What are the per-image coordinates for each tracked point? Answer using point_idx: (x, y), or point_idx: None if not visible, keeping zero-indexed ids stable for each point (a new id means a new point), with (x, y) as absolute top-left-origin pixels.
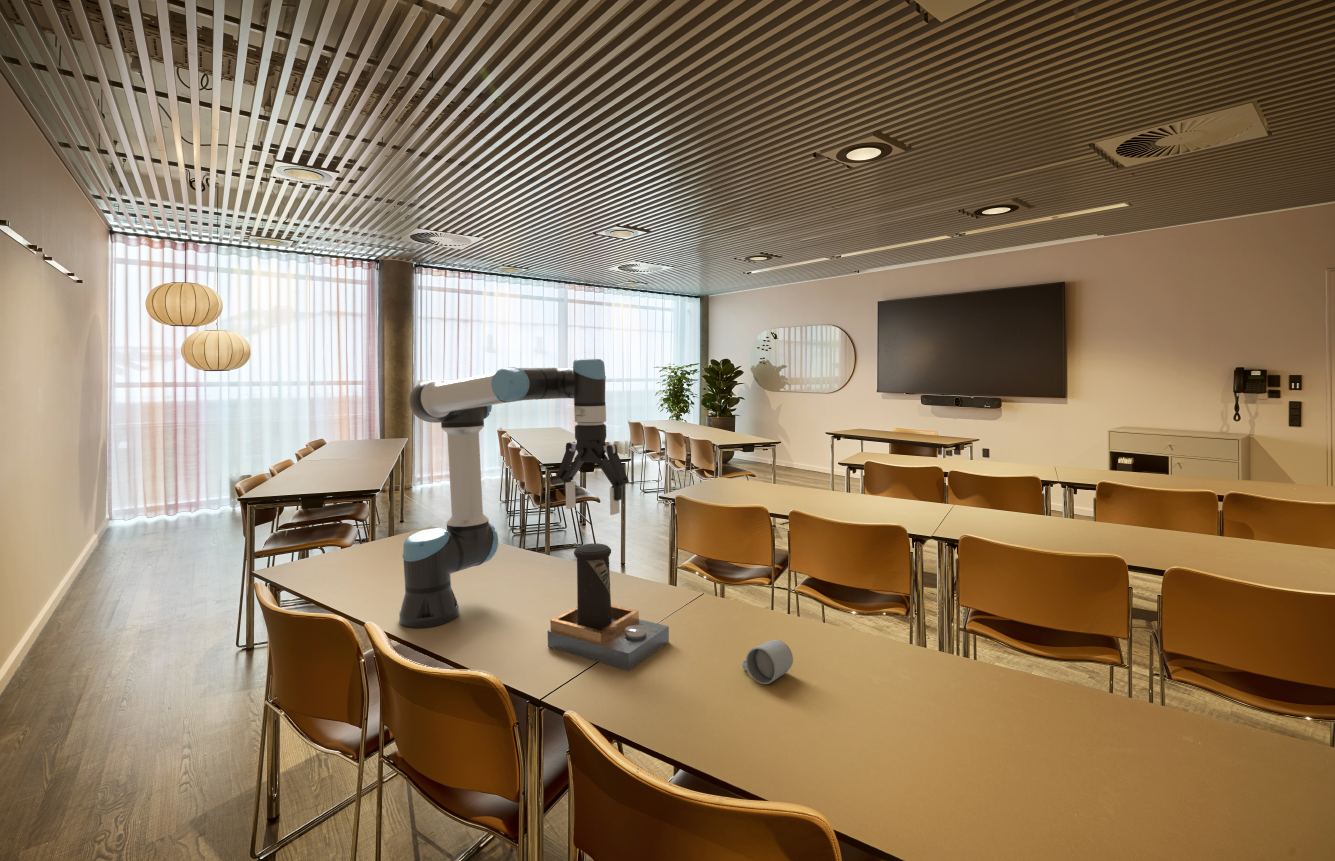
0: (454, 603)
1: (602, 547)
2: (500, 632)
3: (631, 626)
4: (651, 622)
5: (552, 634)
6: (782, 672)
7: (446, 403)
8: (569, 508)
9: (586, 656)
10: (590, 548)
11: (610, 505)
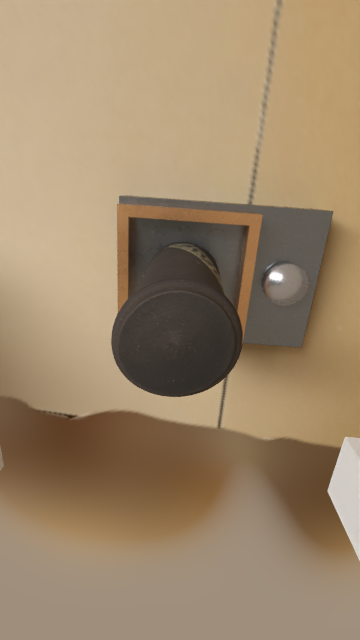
0: None
1: (212, 337)
2: (12, 313)
3: (273, 277)
4: (288, 209)
5: None
6: None
7: None
8: (2, 459)
9: None
10: (182, 370)
11: (357, 548)
